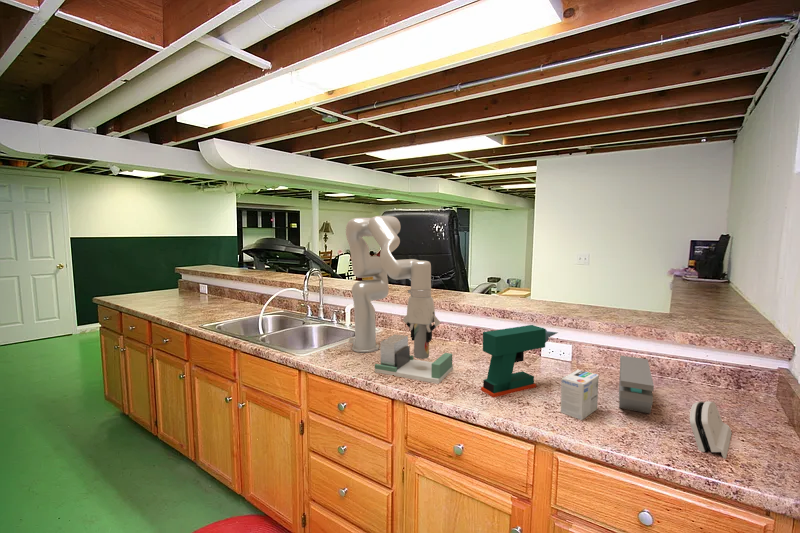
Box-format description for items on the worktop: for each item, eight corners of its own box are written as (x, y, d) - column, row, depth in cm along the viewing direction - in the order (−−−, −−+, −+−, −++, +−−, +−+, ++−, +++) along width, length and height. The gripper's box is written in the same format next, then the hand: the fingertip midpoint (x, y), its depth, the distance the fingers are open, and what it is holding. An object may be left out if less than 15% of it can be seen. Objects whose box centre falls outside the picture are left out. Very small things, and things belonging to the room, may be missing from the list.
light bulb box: (575, 401, 119) (577, 368, 118) (598, 409, 114) (599, 374, 113) (559, 412, 112) (560, 377, 111) (582, 421, 107) (584, 384, 106)
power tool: (549, 373, 143) (550, 321, 141) (564, 380, 137) (565, 325, 135) (479, 389, 129) (480, 331, 127) (493, 397, 123) (494, 337, 121)
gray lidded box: (619, 386, 131) (620, 355, 130) (646, 390, 127) (647, 359, 126) (619, 417, 109) (620, 380, 108) (651, 423, 105) (653, 385, 104)
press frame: (374, 372, 146) (374, 355, 145) (394, 359, 160) (393, 344, 160) (438, 383, 134) (438, 366, 134) (453, 369, 149) (453, 352, 148)
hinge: (725, 459, 89) (709, 415, 90) (701, 458, 92) (686, 416, 94) (732, 432, 101) (717, 394, 102) (709, 432, 104) (696, 395, 105)
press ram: (380, 367, 147) (380, 341, 146) (395, 357, 158) (394, 334, 157) (396, 370, 144) (396, 344, 143) (410, 360, 154) (410, 336, 154)
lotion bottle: (431, 355, 147) (431, 304, 145) (425, 360, 142) (426, 307, 140) (417, 353, 149) (417, 303, 147) (411, 357, 144) (411, 305, 142)
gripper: (396, 293, 144) (396, 340, 145) (438, 296, 136) (439, 346, 138) (404, 290, 150) (405, 335, 152) (446, 293, 143) (446, 340, 144)
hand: (421, 340), depth 145 cm, fingers closed on lotion bottle, 5 cm apart
